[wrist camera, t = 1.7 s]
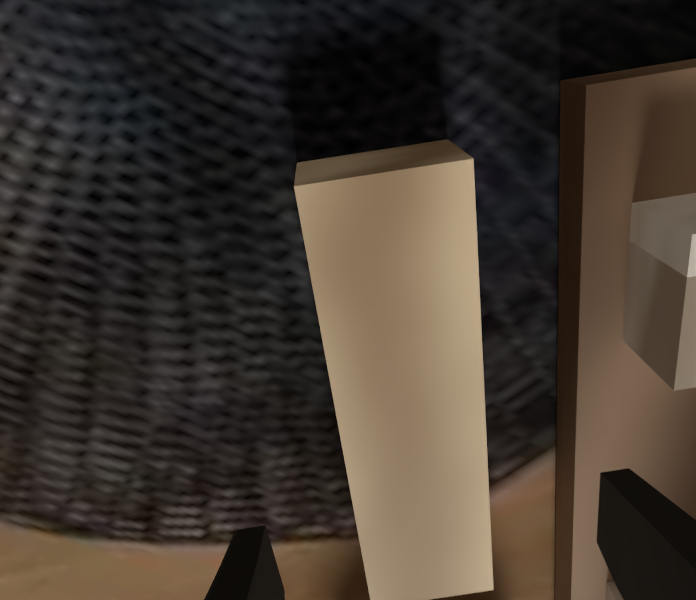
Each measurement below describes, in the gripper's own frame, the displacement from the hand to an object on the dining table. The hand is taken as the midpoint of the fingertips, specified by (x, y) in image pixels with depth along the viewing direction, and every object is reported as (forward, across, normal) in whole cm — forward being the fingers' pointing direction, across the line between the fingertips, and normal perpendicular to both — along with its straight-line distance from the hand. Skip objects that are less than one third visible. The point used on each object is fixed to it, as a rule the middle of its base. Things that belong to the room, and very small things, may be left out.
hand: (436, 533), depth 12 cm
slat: (+7, 0, 0) cm, 7 cm away
